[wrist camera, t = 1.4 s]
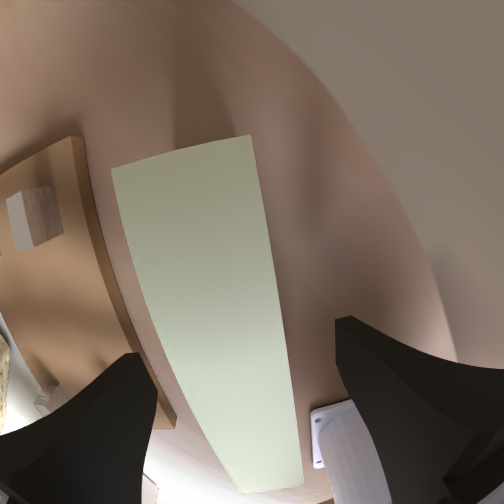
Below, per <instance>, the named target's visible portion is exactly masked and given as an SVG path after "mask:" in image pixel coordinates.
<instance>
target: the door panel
mask: <svg viewBox="0 0 504 504" xmlns="http://www.w3.org/2000/svg"><path fill="white" fill-rule="evenodd" d="M111 174H112V179H113V184H114V189H115V194H116V199H117V203H118V208H119V212H120V216H121V220H122V224H123V228H124V232H125V236H126V240H127V243H128V247H129V250H130V254H131V257H132V261H133V264H134V268H135V271H136V274H137V277H138V280H139V283H140V286H141V290H142V293H143V295H144V298H145V301H146V304H147V307H148V310H149V313H150V315H151V318H152V321H153V323H154V326H155V329H156V331H157V334H158V336H159V339H160V341H161V344H162V346H163V349H164V351H165V353H166V356H167V358H168V361H169V363H170V365H171V367H172V370H173V372H174V374H175V376H176V379H177V381H178V383H179V385H180V387H181V389H182V391H183V393H184V396H185V398H186V400H187V402H188V404H189V406H190V408H191V410H192V412H193V414H194V415H195V417H196V419H197V421H198V423H199V425H200V427H201V429H202V430H203V432H204V434H205V436H206V438H207V439H208V441H209V443H210V445H211V446H212V448H213V450H214V452H215V453H216V455H217V457H218V458H219V460H220V462H221V463H222V465H223V466H224V468H225V470H226V471H227V473H228V474H229V476H230V477H231V479H232V480H233V482H234V483H235V485H236V486H237V488H238V489H239V491H240V492H241V494H242V493H253V492H262V491H270V490H277V489H283V488H289V487H295V486H300V485H304V478H303V470H302V461H301V453H300V445H299V437H298V429H297V421H296V413H295V406H294V398H293V391H292V384H291V377H290V369H289V362H288V355H287V349H286V342H285V335H284V328H283V322H282V315H281V309H280V302H279V296H278V289H277V283H276V277H275V271H274V265H273V258H272V252H271V246H270V240H269V234H268V228H267V223H266V217H265V211H264V205H263V200H262V194H261V188H260V183H259V177H258V172H257V166H256V161H255V155H254V150H253V144H252V139H251V135H245V136H239V137H234V138H228V139H223V140H218V141H213V142H208V143H204V144H199V145H195V146H190V147H186V148H182V149H178V150H174V151H170V152H166V153H163V154H159V155H155V156H152V157H148V158H145V159H141V160H138V161H135V162H131V163H128V164H125V165H122V166H119V167H116V168H113V169H111Z"/></svg>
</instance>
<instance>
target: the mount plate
mask: <svg viewBox="0 0 504 504" xmlns="http://www.w3.org/2000/svg"><path fill="white" fill-rule="evenodd" d="M47 186H54V190H55V195H56V200H57V205H58V209H59V214H60V218H61V222H62V226H63V230H64V234H62V235H60V236H58V237H55V238H53V239H51V240H49V241H47V242H45V243H42V244H40V245H38V246H36V247H34V248H31V249H28V250H25V251H22V252H19V253H18V251H17V247H16V244H15V240H14V236H13V232H12V228H11V224H10V219H9V214H8V209H7V204H6V199H7V198H9V197H11V196H13V195H14V194H16V193H18V192H20V191H23V190H29V189H35V188H41V187H47ZM0 251H1V254H2V256H0V312H1V314H2V316H3V318H4V321H5V323H6V325H7V327H8V329H9V331H10V333H11V336H12V338H13V340H14V341H15V343H16V345H17V347H18V349H19V351H20V353H21V355H22V356H23V358H24V360H25V362H26V363H27V365H28V367H29V369H30V370H31V372H32V374H33V375H34V377H35V378H36V380H37V381H38V383H39V385H40V386H41V388H42V389H43V390H44V388H45V387H46V385H47V384H48V383H49V382H56V383H60V384H61V386H62V387H63V389H64V390H65V392H66V393H67V395H68V396H69V398H70V399H72V398H73V397H74V396H75V395H76V394H78V393H79V392H80V391H81V390H82V389H84V388H85V387H86V386H87V385H89V384H90V383H91V382H92V381H93V380H94V379H95V378H96V377H98V376H99V375H100V374H101V373H102V372H103V371H104V370H105V369H107V368H108V367H109V366H110V365H111V364H112V363H113V362H115V361H116V360H117V359H118V358H119V357H121V356H122V355H124V354H125V353H134V352H139V353H140V355H141V358H142V360H143V362H144V364H145V366H146V368H147V370H148V372H149V374H150V376H151V378H152V380H153V382H154V384H155V386H156V387H157V389H158V398H157V408H156V414H155V419H154V423H153V427H152V429H175V425H176V420H177V416H176V414H175V412H174V410H173V409H172V407H171V405H170V403H169V401H168V400H167V398H166V396H165V394H164V392H163V390H162V388H161V386H160V384H159V382H158V380H157V378H156V376H155V374H154V372H153V370H152V368H151V366H150V364H149V362H148V360H147V358H146V355H145V353H144V351H143V349H142V347H141V344H140V342H139V340H138V337H137V335H136V333H135V330H134V328H133V325H132V323H131V320H130V318H129V315H128V313H127V310H126V307H125V305H124V302H123V299H122V297H121V294H120V291H119V288H118V285H117V282H116V279H115V276H114V273H113V270H112V267H111V264H110V261H109V257H108V254H107V250H106V247H105V243H104V240H103V236H102V232H101V229H100V225H99V221H98V217H97V212H96V208H95V204H94V199H93V194H92V189H91V184H90V179H89V173H88V168H87V162H86V155H85V148H84V141H83V137H77V136H69V137H66V138H64V139H62V140H60V141H58V142H56V143H54V144H52V145H50V146H48V147H47V148H45V149H43V150H41V151H39V152H37V153H36V154H34V155H32V156H30V157H28V158H27V159H25V160H23V161H22V162H20V163H18V164H17V165H15V166H13V167H12V168H10V169H9V170H7V171H6V172H4V173H3V174H1V175H0Z"/></svg>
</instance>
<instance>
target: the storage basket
mask: <svg viewBox="0 0 504 504" xmlns="http://www.w3.org/2000/svg"><path fill="white" fill-rule="evenodd" d="M10 355H11V353H10V348H9V346H8V344H7V343H6V342H5V340H4V338H3V337H2V335H1V334H0V433H1V430H2V429H3V427H4V423H5V416H6V407H7V401H6V394H7V384H8V382H7V381H8V369H9V360H10V358H11V356H10Z"/></svg>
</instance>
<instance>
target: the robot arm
mask: <svg viewBox="0 0 504 504" xmlns="http://www.w3.org/2000/svg"><path fill="white" fill-rule="evenodd" d="M335 342H336V365H337V367H338V370H339V373H340V376H341V378H342V381H343V383H344V385H345V387H346V389H347V391H348V393H349V395H350V397H351V399H350V400H347V401H343V402H340V403H337V404H333V405H329V406H325V407H322V408H318V409H315V410H313V411H312V412H311V413H310V420H311V437H312V456H313V467H314V468H316V469H317V468H322V467H325V470H326V473H327V477H328V480H329V483H330V487H331V491H332V494H333V498H334V501H335V504H504V369H493V368H483V367H476V366H470V365H465V364H461V363H456V362H452V361H448V360H445V359H442V358H438V357H435V356H432V355H429V354H427V353H424V352H421V351H419V350H416V349H414V348H412V347H410V346H407V345H405V344H403V343H401V342H399V341H397V340H395V339H393V338H391V337H389V336H387V335H385V334H383V333H381V332H380V331H378V330H376V329H374V328H372V327H371V326H369V325H367V324H365V323H364V322H362V321H360V320H358V319H357V318H355V317H353V316H347V317H343V318H339V319H335ZM157 398H158V389H157V387H156V386H155V384H154V382H153V380H152V378H151V376H150V374H149V372H148V370H147V368H146V366H145V364H144V362H143V360H142V358H141V355H140V353H139V352H134V353H125V354H124V355H122V356H121V357H119V358H118V359H117V360H116V361H115V362H113V363H112V364H111V365H110V366H109V367H108V368H107V369H105V370H104V371H103V372H102V373H101V374H100V375H99V376H98V377H96V378H95V379H94V380H93V381H92V382H91V383H90V384H89V385H87V386H86V387H85V388H84V389H82V390H81V391H80V392H79V393H78V394H76V395H75V396H74V397H73V398H72V399H70V400H69V401H68V402H66V403H65V404H63V405H62V406H61V407H59V408H58V409H56V410H55V411H53V412H52V413H50V414H48V415H47V416H45V417H43V418H41V419H39V420H37V421H35V422H34V423H32V424H30V425H28V426H25V427H23V428H21V429H18V430H16V431H13V432H10V433H7V434H4V435H1V436H0V489H1V490H2V491H3V492H4V493H6V494H7V495H8V496H9V499H8V501H7V500H5V499H4V498H3V497H1V496H0V504H142V478H143V467H144V461H145V456H146V451H147V447H148V443H149V439H150V435H151V431H152V427H153V423H154V419H155V414H156V408H157Z"/></svg>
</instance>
